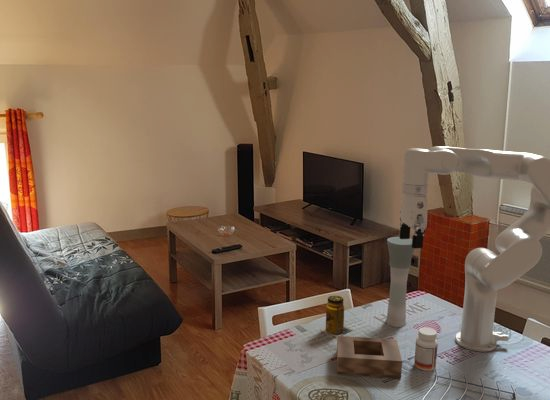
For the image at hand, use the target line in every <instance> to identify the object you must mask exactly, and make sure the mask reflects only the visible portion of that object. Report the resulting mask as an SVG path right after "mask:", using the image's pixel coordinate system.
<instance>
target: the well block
mask: <svg viewBox="0 0 550 400" xmlns="http://www.w3.org/2000/svg"><path fill="white" fill-rule="evenodd" d="M336 340H337V341H336V375H340V376H355V377H356V376H357V377H369V378H385V379H397V380H399V379H400V380H401V379H402V369H403V360H402V355H401V352H400V347H399V344H398V341H397V339H396V338H395V339H394V338H379V337H361V336H347V335H345V336H344V335H341V336H337V339H336Z"/></svg>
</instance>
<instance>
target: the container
mask: <svg viewBox="0 0 550 400" xmlns="http://www.w3.org/2000/svg"><path fill="white" fill-rule="evenodd" d="M386 244H387V250H388V255H389V262H388V266H390V288H389V298H388V304H387V305H388V306H387V312H386V319H385V323H386V324H387V325H388V326H391V327H396V328H399V327H405V326H406V325H407V319H406V318H407V285H408V284H407V282H408V277H409V272H410V268H411V266H412V265H411V264H412V258H413V254H414V252H415V248H412V238H411V237H410V238H409V239H400V236H392V237H388V238H387V240H386Z"/></svg>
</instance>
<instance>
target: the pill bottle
mask: <svg viewBox="0 0 550 400" xmlns="http://www.w3.org/2000/svg"><path fill="white" fill-rule="evenodd" d="M437 334H438V333H437V331H436V329H434V328H431V327H427V326H426V327H425V326H424V327H420V328H419V329H418V334H417V335H418V336H417V338H416V340H415V348H414V349H415V351H414V366H415V367H416V368H417V369H419V370H420V371H424V372H425V371H426V372H429V371H430V372H431V371H433V370H435V369H436V366H437V356H438V355H437V354H438V348H439V347H438V346H439V343H438V340H437Z"/></svg>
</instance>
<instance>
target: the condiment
mask: <svg viewBox="0 0 550 400" xmlns="http://www.w3.org/2000/svg"><path fill="white" fill-rule="evenodd" d="M344 301H345V299H344V297H342V296H340V295H330V296H328V297H327V304H326V308H325V312H326V314H325V327H324V328H323V329H320V332H323V333H325V334H328V335H330V336H332V337H334V338H337V336H344V335H346V334H347V333H349V332H350V331H352V330H353V329H352V328H349V327H347V326H344V325H345V324H344V323H345V305H344Z"/></svg>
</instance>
